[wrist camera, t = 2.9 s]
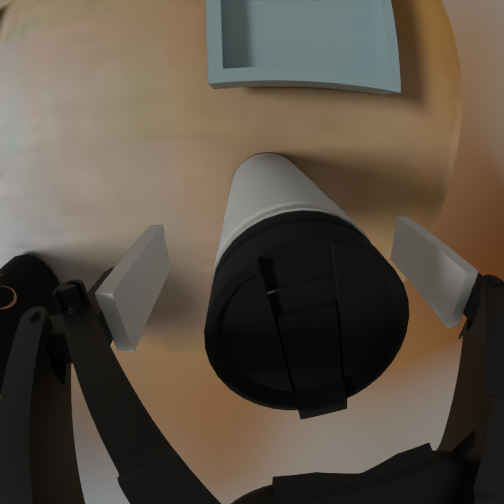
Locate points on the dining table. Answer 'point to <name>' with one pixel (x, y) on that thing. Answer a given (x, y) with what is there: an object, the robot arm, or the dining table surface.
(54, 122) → the dining table surface
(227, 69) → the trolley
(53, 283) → the coffee jar
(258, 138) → the dining table surface
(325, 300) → the travel mug
